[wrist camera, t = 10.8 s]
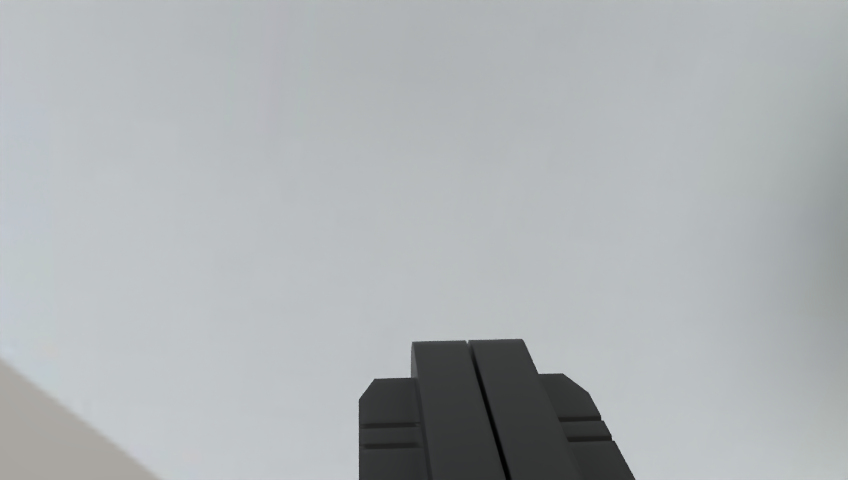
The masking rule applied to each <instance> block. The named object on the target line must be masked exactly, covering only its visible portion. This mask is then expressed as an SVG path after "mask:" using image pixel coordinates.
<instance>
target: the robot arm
mask: <svg viewBox="0 0 848 480" xmlns="http://www.w3.org/2000/svg"><path fill="white" fill-rule="evenodd" d="M359 480H635V478H634V476H633V474H632V473H631V471H630V469H629V467H628V465H627V463H626V461H625V459H624V458H623V456H622V454H621V452H620V450H619V448H618V446H617V445H616V443H615V441H612V435H611V433H610V432H609V430H608V428H607V426H606V424H605V422H604V421H601V415H600V413H599V411H598V409H597V407H596V406H595V404H594V402H593V400H592V398H591V396H590V394H589V393H588V392H587V391H585V390H584V389H583V388H581V387H580V386H579V385H577V384H576V383H575V382H573V381H572V380H571V379H569V378H568V377H567V376H565V375H564V374H563V373H562V374H538V372H537V370H536V367H535V365H534V363H533V361H532V358H531V356H530V354H529V352H528V349H527V347H526V345H525V343H524V341H523V340H522V339H499V340H469V341H468V344H467V343H466V341H465V340H464V341H422V342H412V349H411V378H387V379H374V380H373V382H372V383H371V384H370V386H369V387H368V388H367V390H366V391H365V392H364V394H363V395H362V396H361V398H360V399H359Z"/></svg>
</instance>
